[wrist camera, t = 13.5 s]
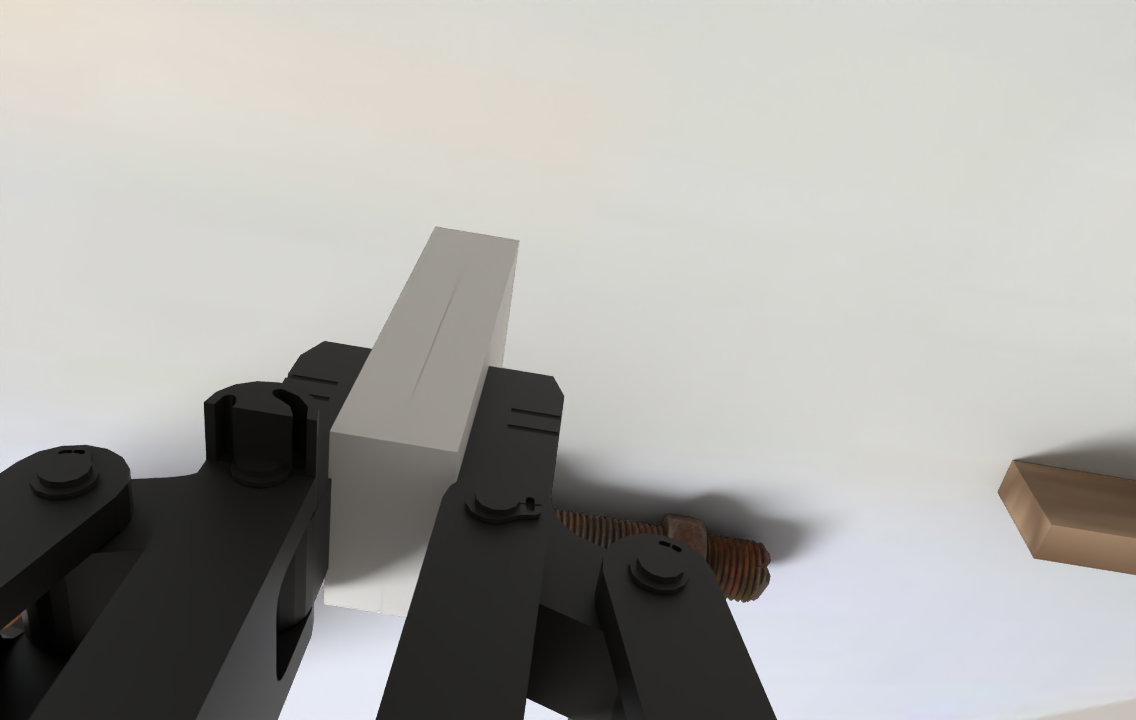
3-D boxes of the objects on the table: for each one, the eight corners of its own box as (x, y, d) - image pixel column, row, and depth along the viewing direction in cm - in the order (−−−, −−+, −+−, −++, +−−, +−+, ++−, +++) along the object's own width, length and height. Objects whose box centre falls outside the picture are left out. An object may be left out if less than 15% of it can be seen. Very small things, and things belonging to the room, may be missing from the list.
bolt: (749, 537, 53) (482, 493, 52) (779, 503, 48) (489, 455, 47) (747, 642, 50) (464, 597, 49) (779, 616, 45) (469, 567, 44)
